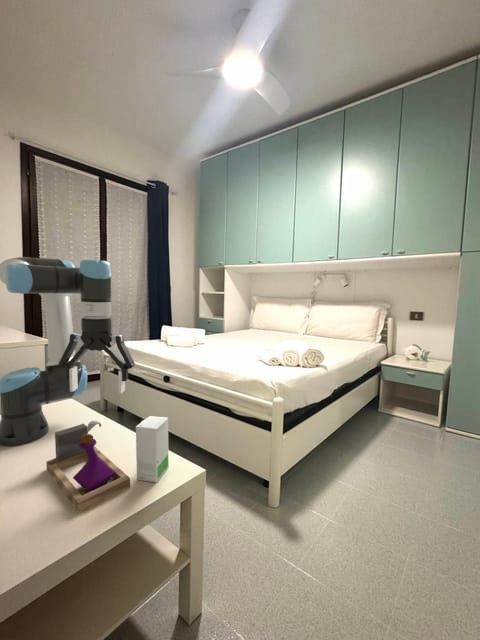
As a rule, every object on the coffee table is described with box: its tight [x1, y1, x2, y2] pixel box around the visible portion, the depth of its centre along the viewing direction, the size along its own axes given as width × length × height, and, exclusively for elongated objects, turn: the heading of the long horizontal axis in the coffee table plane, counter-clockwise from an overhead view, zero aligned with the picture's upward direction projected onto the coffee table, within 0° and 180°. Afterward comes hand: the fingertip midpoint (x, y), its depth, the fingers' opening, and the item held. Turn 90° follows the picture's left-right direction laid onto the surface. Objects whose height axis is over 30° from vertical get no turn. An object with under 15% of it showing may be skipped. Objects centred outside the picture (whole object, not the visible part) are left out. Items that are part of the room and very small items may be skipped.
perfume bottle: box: [72, 420, 115, 493], centre depth 79 cm, size 8×8×18 cm
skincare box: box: [135, 415, 170, 483], centre depth 86 cm, size 8×7×16 cm
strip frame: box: [45, 423, 131, 513], centre depth 83 cm, size 24×13×10 cm, turn 48°
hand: (97, 391), depth 85 cm, fingers open, 13 cm apart
